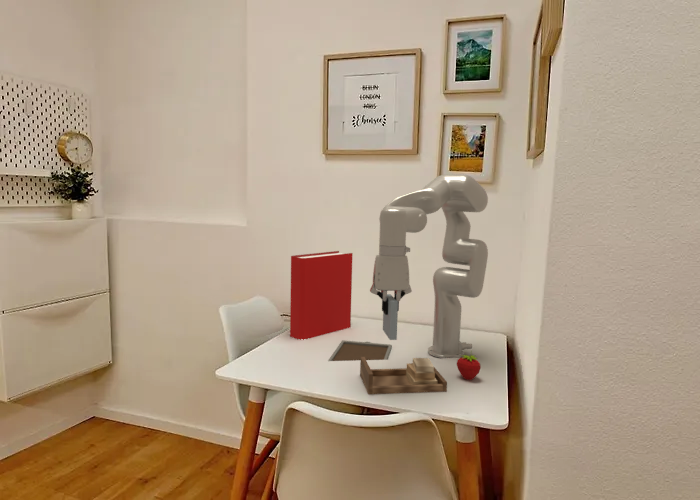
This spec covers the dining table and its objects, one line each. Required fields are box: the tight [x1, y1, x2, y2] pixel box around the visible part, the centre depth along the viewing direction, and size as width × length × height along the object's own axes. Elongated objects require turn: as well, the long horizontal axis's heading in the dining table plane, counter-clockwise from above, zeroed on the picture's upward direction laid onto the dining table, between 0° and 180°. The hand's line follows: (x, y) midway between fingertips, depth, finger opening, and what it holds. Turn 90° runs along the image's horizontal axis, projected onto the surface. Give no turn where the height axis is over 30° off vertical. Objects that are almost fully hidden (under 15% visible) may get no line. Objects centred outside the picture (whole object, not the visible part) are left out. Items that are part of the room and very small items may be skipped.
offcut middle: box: [406, 362, 435, 381], centre depth 145 cm, size 6×8×2 cm
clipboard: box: [327, 340, 393, 362], centre depth 170 cm, size 19×2×30 cm
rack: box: [359, 357, 448, 395], centre depth 144 cm, size 23×14×7 cm, turn 98°
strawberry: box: [456, 349, 482, 381], centre depth 149 cm, size 6×8×10 cm
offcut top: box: [412, 357, 435, 373], centre depth 144 cm, size 5×7×2 cm
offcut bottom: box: [406, 371, 438, 385], centre depth 145 cm, size 7×9×2 cm
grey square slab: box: [382, 293, 399, 341], centre depth 141 cm, size 2×10×11 cm, turn 8°
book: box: [289, 250, 353, 341], centre depth 196 cm, size 27×8×32 cm, turn 136°
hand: (390, 313), depth 141 cm, fingers closed on grey square slab, 2 cm apart
